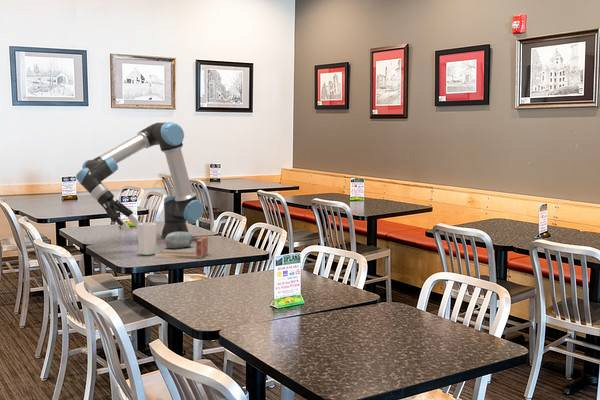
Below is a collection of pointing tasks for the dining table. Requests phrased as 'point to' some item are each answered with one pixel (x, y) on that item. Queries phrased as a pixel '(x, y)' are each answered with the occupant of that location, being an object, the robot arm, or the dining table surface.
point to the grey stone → (178, 240)
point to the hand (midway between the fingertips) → (133, 227)
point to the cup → (146, 238)
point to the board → (198, 254)
